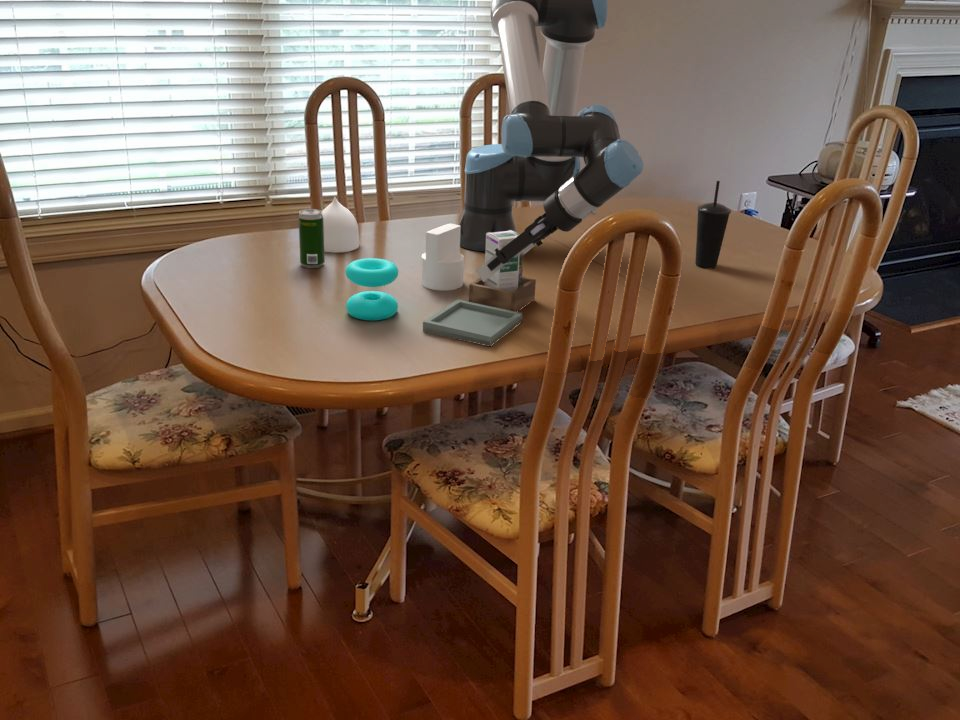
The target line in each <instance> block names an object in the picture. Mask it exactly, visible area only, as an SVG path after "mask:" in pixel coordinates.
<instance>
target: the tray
mask: <svg viewBox="0 0 960 720" xmlns="http://www.w3.org/2000/svg"><path fill="white" fill-rule="evenodd" d="M521 321H522V322H523V312H520V311H519V312H514V311H509V310H505V309H500V308H495V307H491V306H486V305H481V304H477V303H472V302H469V301H467V300H463V299H456V300H454V301H453V302H452V303H450V304H448V305H447V306H445V307H444V308H442V309H440V310H439V311H438V312H435V313H434V314H432V315H431V316H429V317H428V318H426V319H424V320H423V321H422V332H424V333H428V334H432V335H437V336H441V337H445V338H449V337H450V339H453V338H455V339H454V340H457V339H461V340H460V341H462V340H465V341H464V342H466V341H471V342H476V343H480V344H485V345H489V346H491V345H492V344H493V343H495V342H496V341H497V340H498V339H500V338H501V337H502V336H504V335H505V334H506V333H508V332H509V331H510V330H512V329H513V328H514V327H515V326H516V325H518V324H519V323H520V322H521ZM518 326H519V325H518ZM513 330H514V329H513ZM513 330H512V331H513ZM509 333H510V332H509ZM509 333H508V334H509ZM504 337H505V336H504ZM500 340H501V339H500ZM496 343H497V342H496ZM496 343H495V344H496ZM491 347H492V346H491Z"/></svg>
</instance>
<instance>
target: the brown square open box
mask: <svg viewBox="0 0 960 720" xmlns="http://www.w3.org/2000/svg"><path fill="white" fill-rule="evenodd" d="M536 282H537V279H534V278H530V277H525V276H522V286H521V287H520V288H518V289H517V290H515V291H514V292H512V291H507V290H502V289H497V288H492V287H487V286H484V283H485V281H484V282H483V281H482V279H481V278H480V277H479V278H477V279H475V280H474V281H473V282H471V283H470V284H468V285H469V286H468V302H472V303H477V304H481V305H486V306H491V307H495V308H500V309H505V310H509V311H514V312H517V311H519V310H520V309H521V308H522V307H524V306H525V305H527V304H528V303H529V302H531V301H532V300H534V301H535V299H536V298H535V295H536V284H537V283H536ZM531 303H532V302H531ZM527 306H528V305H527ZM519 312H520V311H519Z"/></svg>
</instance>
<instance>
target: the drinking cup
mask: <svg viewBox="0 0 960 720" xmlns="http://www.w3.org/2000/svg"><path fill="white" fill-rule="evenodd" d="M720 182H721V181H720V180H716V184H715V192H714V198H713V202H707V203H703V204H700V205H698V206H697V208H696V210H697V224H696V225H697V226H696V227H697V229H696V246H695V262H694V264H696V265H695V266H696V267H698V268H700V269H706V268H712V269H715V267H717V265H718V261H719V258H720V257H719V256H720V253H721V249H722V245H723V242H724V239H725V233H726V229H727V224H728V221H729V217H730V214H731V213H732V209H731V208H730V207H728V206H726V205H724V204H721V203H718V196H719V189H720Z"/></svg>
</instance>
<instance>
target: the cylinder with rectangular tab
mask: <svg viewBox="0 0 960 720" xmlns="http://www.w3.org/2000/svg"><path fill="white" fill-rule="evenodd" d="M460 229H461V226H460V225H459V224H455V223H450V222H449V223H446V224H444V225H441V226H438V227H435V228H433V229H431V230H428V231H426V232H425V252H424V253H422V254H421V260H420V262H421V267H420V268H421V269H420V274H421V276H420V277H421V278H420V284H421V286H422V287H424V288H427V289H430V290H433V291H434V290H435V291H453V290H457V288H458V289H460V288H462V287H463V285H464V271H465V270H464V267H465V265H464V264H465V257H464V255H463V253H461V251H460V250H461V246H460Z"/></svg>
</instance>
